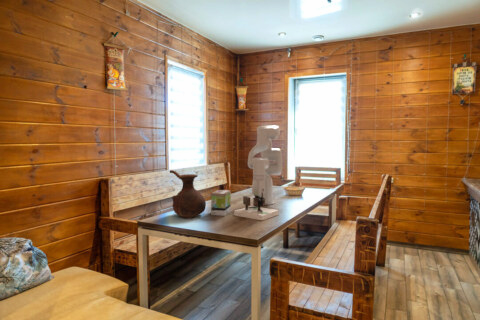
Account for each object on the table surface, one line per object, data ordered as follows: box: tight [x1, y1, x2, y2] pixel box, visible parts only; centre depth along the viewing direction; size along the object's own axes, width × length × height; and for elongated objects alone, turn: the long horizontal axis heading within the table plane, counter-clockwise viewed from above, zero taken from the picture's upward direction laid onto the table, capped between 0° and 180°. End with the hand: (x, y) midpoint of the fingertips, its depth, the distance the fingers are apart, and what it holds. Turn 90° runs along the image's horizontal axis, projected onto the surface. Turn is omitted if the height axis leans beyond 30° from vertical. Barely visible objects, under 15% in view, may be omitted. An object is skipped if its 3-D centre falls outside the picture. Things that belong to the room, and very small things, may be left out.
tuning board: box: [233, 205, 279, 221], centre depth 207 cm, size 19×22×3 cm
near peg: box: [252, 197, 265, 212], centre depth 202 cm, size 9×7×8 cm
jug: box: [169, 169, 207, 219], centre depth 205 cm, size 22×22×30 cm
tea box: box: [210, 189, 232, 217], centre depth 212 cm, size 15×10×15 cm
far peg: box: [242, 195, 258, 210], centre depth 210 cm, size 9×7×8 cm
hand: (258, 205), depth 205 cm, fingers closed on near peg, 3 cm apart
